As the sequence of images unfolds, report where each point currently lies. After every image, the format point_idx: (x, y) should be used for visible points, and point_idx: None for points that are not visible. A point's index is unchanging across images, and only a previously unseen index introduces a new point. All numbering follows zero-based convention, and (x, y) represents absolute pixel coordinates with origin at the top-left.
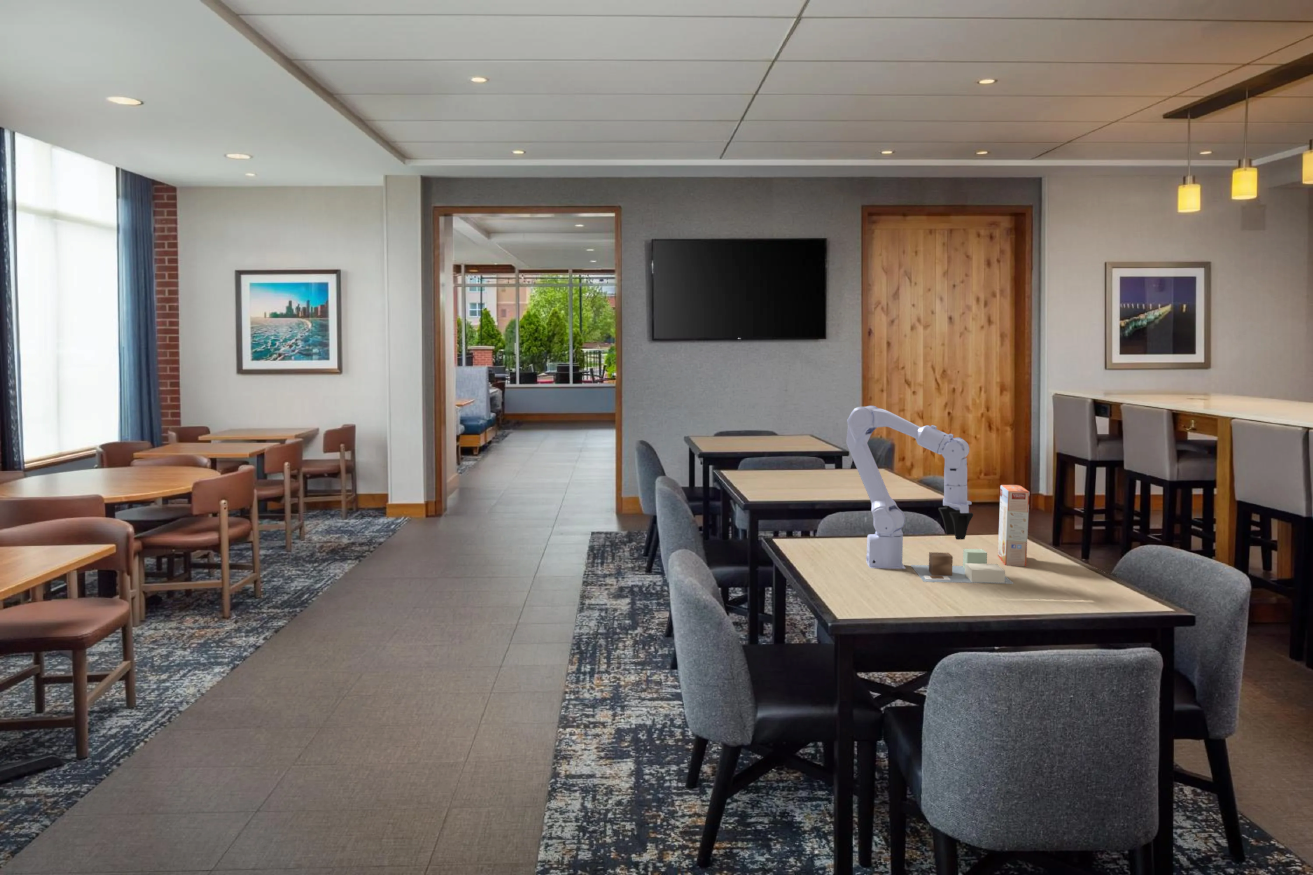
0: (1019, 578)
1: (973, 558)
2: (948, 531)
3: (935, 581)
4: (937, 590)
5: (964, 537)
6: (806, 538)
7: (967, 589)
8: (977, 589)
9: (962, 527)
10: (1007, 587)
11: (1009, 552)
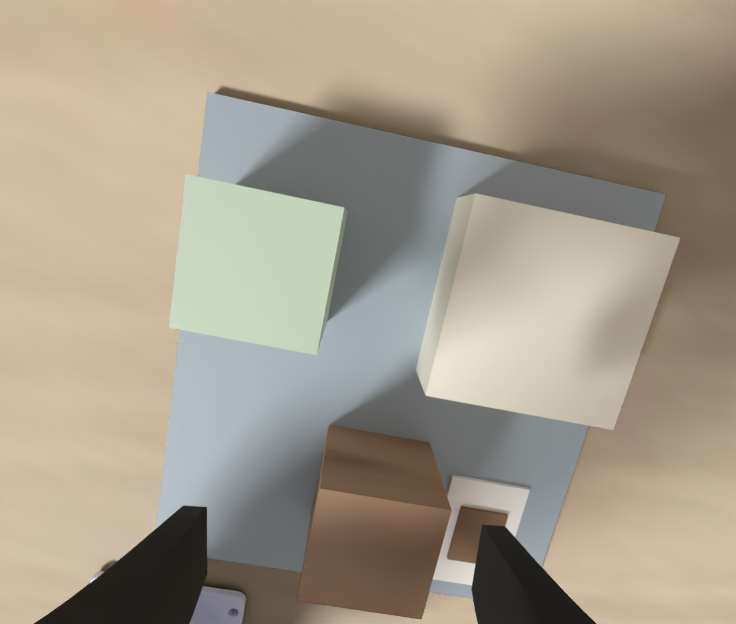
0: (498, 67)
1: (328, 302)
2: (194, 589)
3: (538, 559)
4: (658, 586)
5: (517, 543)
6: None
7: (674, 460)
8: (686, 416)
9: None
10: (686, 250)
11: None
